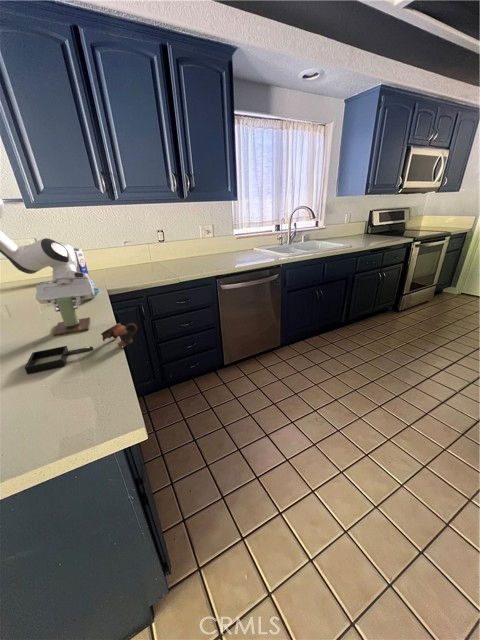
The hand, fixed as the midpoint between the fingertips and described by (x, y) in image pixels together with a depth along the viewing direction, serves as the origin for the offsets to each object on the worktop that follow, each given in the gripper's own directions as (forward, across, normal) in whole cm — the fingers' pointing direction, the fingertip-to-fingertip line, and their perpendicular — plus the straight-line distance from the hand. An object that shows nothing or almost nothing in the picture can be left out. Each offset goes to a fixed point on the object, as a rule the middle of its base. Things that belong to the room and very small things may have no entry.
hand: (67, 309), depth 105 cm
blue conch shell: (-24, +1, +36) cm, 43 cm away
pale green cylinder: (+4, 0, +5) cm, 6 cm away
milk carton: (-59, -12, +71) cm, 93 cm away
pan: (+24, +3, -13) cm, 28 cm away
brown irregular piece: (+20, +20, -9) cm, 30 cm away
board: (+5, 0, +6) cm, 8 cm away
